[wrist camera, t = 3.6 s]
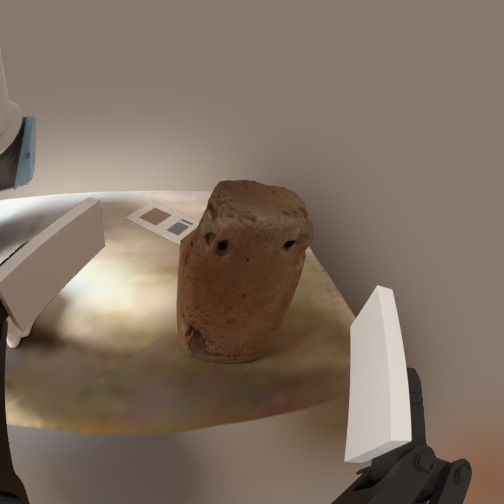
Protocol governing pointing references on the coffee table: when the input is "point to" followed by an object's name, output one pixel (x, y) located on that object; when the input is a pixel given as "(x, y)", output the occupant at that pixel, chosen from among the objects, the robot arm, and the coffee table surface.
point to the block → (240, 271)
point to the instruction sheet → (163, 221)
